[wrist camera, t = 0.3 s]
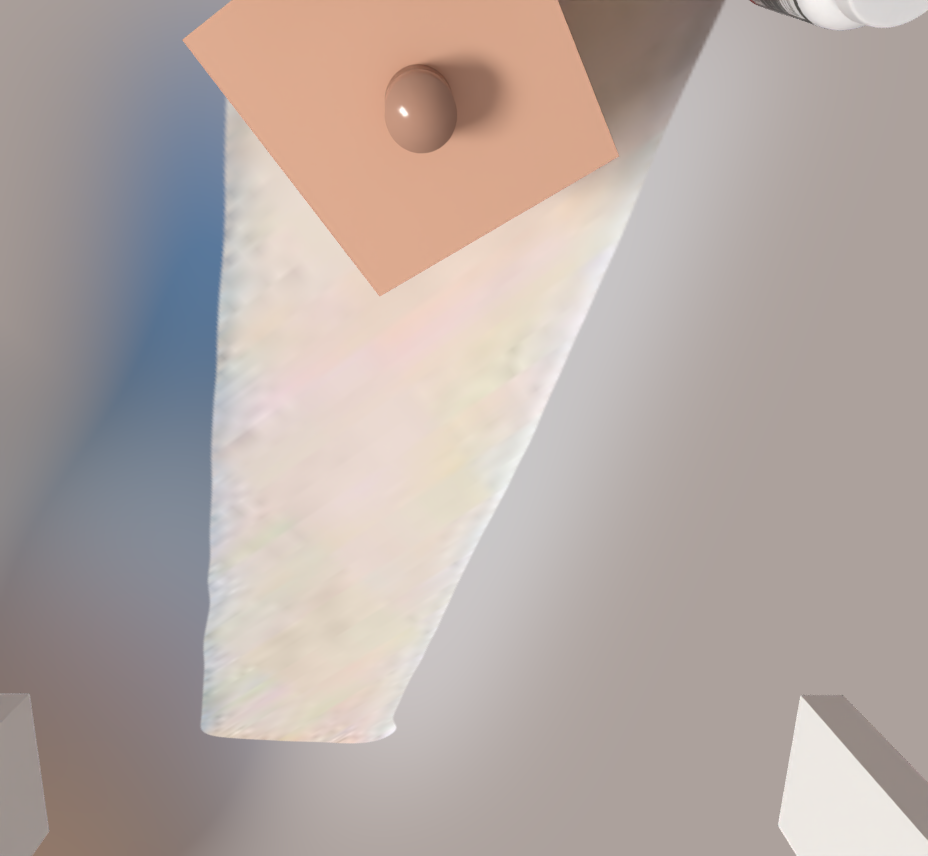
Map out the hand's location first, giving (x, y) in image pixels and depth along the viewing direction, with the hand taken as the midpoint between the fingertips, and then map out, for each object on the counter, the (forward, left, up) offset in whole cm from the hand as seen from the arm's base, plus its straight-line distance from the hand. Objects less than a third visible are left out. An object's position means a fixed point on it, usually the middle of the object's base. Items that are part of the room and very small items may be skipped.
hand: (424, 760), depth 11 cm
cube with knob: (-4, +4, -33) cm, 33 cm away
